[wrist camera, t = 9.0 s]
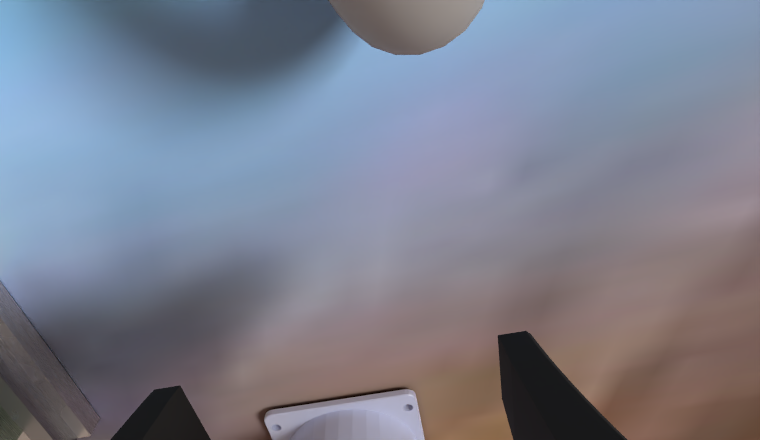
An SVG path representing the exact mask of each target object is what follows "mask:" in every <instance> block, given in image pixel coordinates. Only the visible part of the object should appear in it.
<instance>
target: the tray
mask: <svg viewBox="0 0 760 440" xmlns="http://www.w3.org/2000/svg"><path fill="white" fill-rule="evenodd" d="M99 420H100V418H99V416H98V415H97V414H96V412H95V411H94V409H93V408H92V407H91V405H90V404H89V403H88V401H87V400H86V398H85V397H84V396H83V394H82V393H81V392H80V390H79V389H78V387H77V386H76V385H75V383H74V382H73V381H72V379H71V378H70V376H69V375H68V374H67V372H66V371H65V370H64V368H63V367H62V365H61V364H60V363H59V361H58V360H57V359H56V357H55V356H54V354H53V353H52V352H51V350H50V349H49V348H48V346H47V345H46V343H45V342H44V341H43V339H42V338H41V337H40V335H39V334H38V332H37V331H36V330H35V328H34V327H33V326H32V324H31V323H30V321H29V320H28V319H27V317H26V316H25V315H24V313H23V312H22V310H21V309H20V308H19V306H18V305H17V304H16V302H15V301H14V299H13V298H12V297H11V295H10V294H9V293H8V291H7V290H6V288H5V287H4V286H3V284H2V283H1V282H0V440H77V438H81V437H87V436H91V435H92V433H93V431H94V429H95V428H96V426H97V424H98V422H99Z"/></svg>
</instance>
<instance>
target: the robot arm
mask: <svg viewBox="0 0 760 440" xmlns="http://www.w3.org/2000/svg"><path fill="white" fill-rule="evenodd" d="M498 345H499V360H500V375H501V390H502V400H503V404H504V407H505V411H506V414H507V418H508V422H509V425H510V429H511V432H512V436H513V440H627V439H626V438H625V437H624V436H623V435H622V434H621V433H620V432H619V431H618V430H617V429H616V428H615V427H614V426H613V425H612V424H611V423H610V422H609V421H608V420H607V419H606V418H605V417H604V416H603V415H602V414H601V413H600V412H599V411H598V410H597V409H596V408H595V407H594V406H593V405H592V404H591V403H590V402H589V401H588V400H587V399H586V398H585V397H584V396H583V395H582V394H581V393H580V392H579V390H578V389H577V388H576V387H575V386H574V385H573V384H572V383H571V382H570V381H569V380H568V378H567V377H566V376H565V375H564V374H563V373H562V372H561V370H560V369H559V368H558V367H557V366H556V365H555V364H554V362H553V361H552V360H551V359H550V358H549V356H548V355H547V354H546V353H545V352H544V350H543V349H542V348H541V347H540V345H539V344H538V343H537V342H536V340H535V339H534V338H533V336H532V335H531V334H530V333H528V332H527V331H523V332H516V333H510V334H504V335H498ZM407 404H408V405H407ZM264 423H265V425H266V427H267V429H268V431H269V433H270V436H271V438H272V440H425V438H424V433H423V428H422V423H421V418H420V413H419V408H418V403H417V398H416V394H415V392H414V391H412V390H409V389H403V390H397V391H390V392H384V393H377V394H371V395H364V396H358V397H351V398H345V399H338V400H332V401H325V402H318V403H312V404H305V405H299V406H292V407H286V408H279V409H273V410H269V411H268V412H266V414H265V418H264ZM111 440H211V439H210V438H209V436H208V434H207V432H206V431H205V429H204V427H203V425H202V424H201V422H200V420H199V418H198V417H197V415H196V413H195V411H194V409H193V408H192V406H191V404H190V402H189V401H188V399H187V397H186V395H185V394H184V392H183V390H182V388H181V386H175V387H168V388H162V389H156V390H154V391H153V392H152V393H151V394H150V395H149V396H148V397H147V398H146V399H145V400H144V402H143V403H142V404H141V405H140V406H139V407H138V408H137V410H136V411H135V412H134V413H133V414H132V415H131V416H130V418H129V419H128V420H127V421H126V422H125V423H124V425H123V426H122V427H121V428H120V429H119V430H118V432H117V433H116V434H115V435H114V436H113V437H112V439H111Z"/></svg>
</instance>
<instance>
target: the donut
mask: <svg viewBox="0 0 760 440" xmlns="http://www.w3.org/2000/svg"><path fill="white" fill-rule="evenodd" d="M329 2H330V3H331V5H332V6H333V8H334V9H335V11H336V12H337V14H338V15H339V16H340V17H341V18H342V20H343V21H344V22H345V23H346V24H347V26H348V27H349V28H350V29H351V30H352V32H354V33H355V34H356V35H357V36H359V37H360V38H361V39H363V40H364V41H365V42H367V43H368V44H369V45H370V46H372V47H374V48H377V49H380V50H383V51H386V52H389V53H392V54H395V55H420V54H423V53H426V52H429V51H432V50H435V49H438V48H441V47H444V46H445V45H447V44H448V43H449V42H451V41H452V40H453V39H455V38H456V37H457V36H459V35H460V34H461V33H463V32H464V31H465V30H466V29H467V27H468V26H469V25H470V23H471V22H472V21H473V19H474V18H475V17H476V15H477V14H478V12H479V11H480V10H481V8H482V6H483V3H484V0H329Z"/></svg>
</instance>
